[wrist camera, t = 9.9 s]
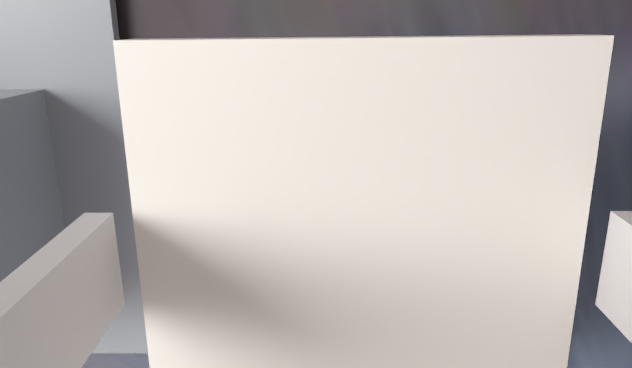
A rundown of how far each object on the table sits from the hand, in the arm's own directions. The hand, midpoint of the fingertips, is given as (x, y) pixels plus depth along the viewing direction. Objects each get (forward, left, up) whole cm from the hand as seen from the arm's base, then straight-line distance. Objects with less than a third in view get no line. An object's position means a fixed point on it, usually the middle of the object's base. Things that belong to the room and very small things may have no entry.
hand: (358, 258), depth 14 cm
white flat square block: (0, 0, -2) cm, 2 cm away
